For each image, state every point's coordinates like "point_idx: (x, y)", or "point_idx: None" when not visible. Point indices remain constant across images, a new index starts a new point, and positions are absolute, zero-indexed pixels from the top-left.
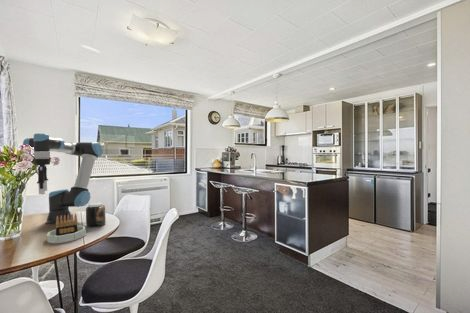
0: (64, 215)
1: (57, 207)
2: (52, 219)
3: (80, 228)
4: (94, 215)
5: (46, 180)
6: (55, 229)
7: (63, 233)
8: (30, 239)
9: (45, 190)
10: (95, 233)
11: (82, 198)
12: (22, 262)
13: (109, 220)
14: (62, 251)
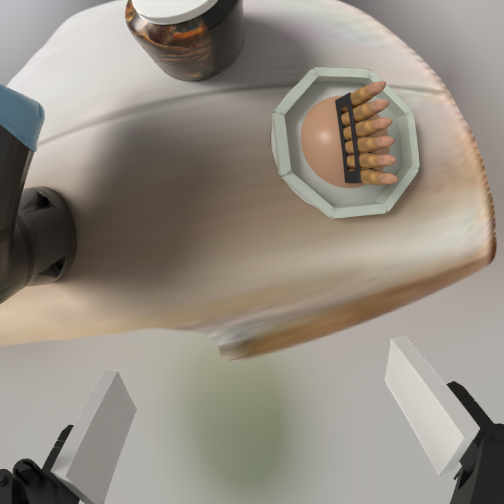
0: (394, 141)
1: (21, 253)
2: (62, 257)
3: (307, 88)
4: (242, 15)
5: (46, 474)
6: (304, 193)
7: (358, 153)
8: (290, 279)
9: (122, 386)
10: (347, 44)
11: (19, 93)
12: (483, 238)
13: None
14: (470, 153)
